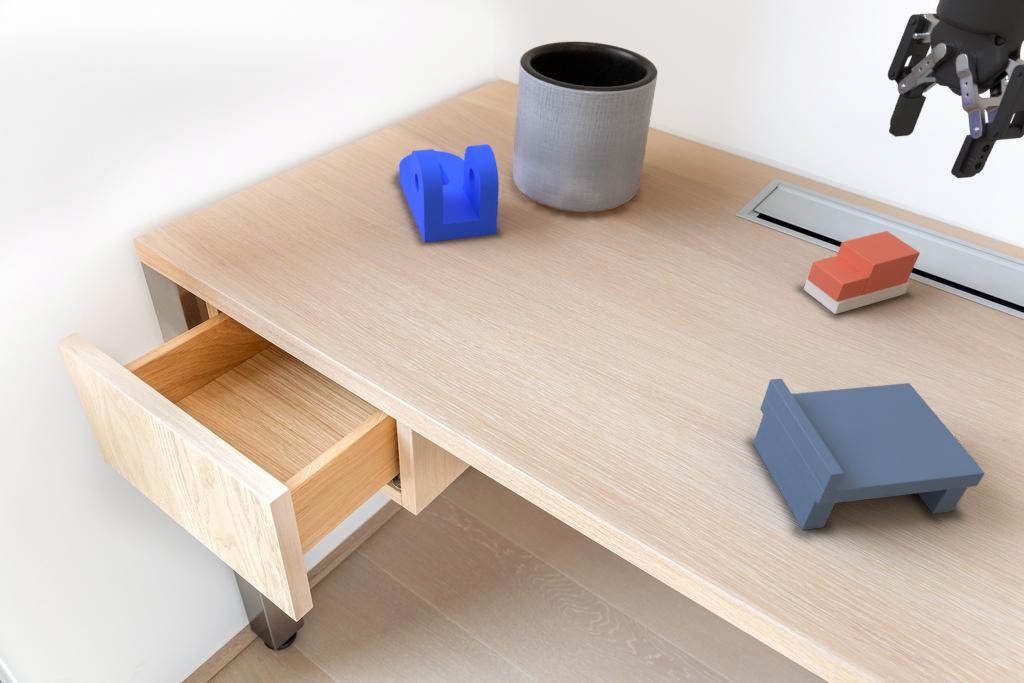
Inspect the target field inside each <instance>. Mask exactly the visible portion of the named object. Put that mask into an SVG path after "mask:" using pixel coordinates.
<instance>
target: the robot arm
mask: <svg viewBox="0 0 1024 683" xmlns="http://www.w3.org/2000/svg"><path fill="white" fill-rule="evenodd" d="M935 12H936V13H929V12H928V13H927V12H925V13H916V14H915V13H914V14H911V15H910V17H909V18H908V20H907V23H906V26H905V29H904V30H903V34H902V36H901V38H900V40H899V43H898V46H897V48H896V51H895V53H894V56H893V58H892V60H891V64H890V66H889V69H888V71H887V78H888V80H889V81H894V82H895V83H896V84H897V92H898V94H899V95H898V98H897V100H896V103H895V107H894V109H893V112H892V114H891V118H890V120H889V126H890V127H889V129H888V133H889V134H890V135H892V137H895V138H896V137H897V138H898V137H908V136H910V135H912V134H913V132H914V131H915V128H916V125H917V122H918V120H919V117H920V115H921V112H922V110H923V108H924V105H925V102H926V99H927V97H926V96H925V95H924V94H925V93H927V92H929V90H931V89H932V88H934V87H935V86H936V85H939V86H941V87H947V88H948V89H949V90H950V91H951V92H952V94H954V95H956V96H959V97H961V104H962V106H961V107H962V109H963V111H965V112H966V113H967V117H968V127H969V134H966V135H965V138H964V139H963V140H964V141H963V143H962V144H961V147H960V150H959V152H958V154H957V157H956V159H955V161H954V163H953V166H952V168H951V170H950V174H951V175H953V176H954V177H955V178H957V179H967V178H973V177H975V176H976V175H977V174H980V173H981V172H982V171H983V170H984V168H985V166H986V163H987V161H988V159H989V157H990V155H991V154H992V150H993V148H994V146H995V144H996V142H997V141H1003V140H1015V139H1021V138H1023V137H1024V59H1021V51H1022V45H1023V43H1024V0H939V1H938V3H937V6H936V9H935ZM929 50H930V53H929ZM928 53H929V54H928ZM909 58H910V59H909ZM908 59H909V62H908V64H907V65H906V63H907V61H908ZM987 91H989V96H988V97H981V96H980V95H983V94H985V93H986V92H987ZM986 114H987V121H986Z"/></svg>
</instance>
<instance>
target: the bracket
mask: <svg viewBox="0 0 1024 683" xmlns="http://www.w3.org/2000/svg"><path fill="white" fill-rule="evenodd" d="M398 171H399V174H398V175H399V176H398V177H399V184H400V187H401V189H402V191H403V192H402V193H403V195H404V196H405V199H406V202H407V204H408V206H409V208H410V211H411V213H412V216H413V218H414V221H415V223H416V225H417V228H418V230H419V233H420V234H421V237H422V240H423V243H433V242H441V241H449V240H458V239H468V238H474V237H475V238H476V237H484V236H492V235H497V232H498V211H499V210H498V209H499V191H500V190H499V189H500V188H499V187H500V186H499V185H500V184H499V170H498V165H497V160H496V157H495V153H494V150H493V148H492V146H490V145H489V144H477V145H476V144H475V145H468V146H466V148H465V150H464V157H463V158H462V157H460V156H458V155H456V154H453V153H452V152H451V153H450V152H447V151H443V150H441V151H440V150H435V149H433V148H429V149H417V150H412V151H411V154H408V155H406V156H404V157H403V158H402V159H401V160H400V162H399V163H398Z"/></svg>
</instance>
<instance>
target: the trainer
mask: <svg viewBox="0 0 1024 683" xmlns="http://www.w3.org/2000/svg"><path fill="white" fill-rule="evenodd" d="M920 253H921V252H920V251H919V250H917V249H916V248H914V247H912V246H910V245H909V244H908V243H906V242H905V241H903V240H901V239H900V238H899V237H897V236H896V235H894V234H892V233H890V232H889V231H887V230H884V231H881V232H877V233H872V234H869V235H865V236H861V237H857V238H852V239H848V240H844V241H842V242H841V243H840V245H839V249H838V251H837V255H835V256H830V257H827V258H824V259H820V260H815V261H813V262H812V264H811V267H810V270H809V273H808V276H807V278H806V281H805V284H804V286H803V291H805V292H806V293H807V294H809V295H810V296H811V297H812V298H813V299H815V300H816V301H818V302H819V303H820V304H821V305H823V306H824V307H825V308H826V309H827V310H829V311H830V312H832V313H833V314H834V315H838V314H841V313H844V312H845V313H846V312H848V311H852V310H855V309H859V308H862V307H865V306H868V305H872V304H875V303H879V302H882V301H885V300H890V299H892V298H896V297H900V296H902V295H905V294H906V293H907V290H908V288H909V286H910V284H911V282H909V279H910V276H911V274H912V272H913V270H914V267H915V265H916V263H917V261H918V258H919V256H920Z"/></svg>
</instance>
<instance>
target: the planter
mask: <svg viewBox="0 0 1024 683" xmlns="http://www.w3.org/2000/svg"><path fill="white" fill-rule="evenodd" d="M518 68H519V69H518V86H517V97H516V98H517V99H516V111H515V112H516V116H515V127H514V139H513V151H512V152H513V153H512V165H511V166H512V167H511V171H512V181H513V183H514V185H515V186H516V188H517V189H518V190H519V191H520V192H521V193H522V194H524V195H525V196H526V197H527V198H528V199H530V200H531V201H533V202H536V203H537V204H539V205H541V206H544V207H546V208H549V209H553V210H557V211H559V212H560V211H561V212H566V213H567V212H568V213H574V214H592V213H593V214H594V213H600V212H605V211H610V210H613V209H615V208H618V207H620V206H622V205H624V204H626V203H628V202H629V201H631V200H632V199H633V198H634V197H636V195H637V194H638V191H639V189H640V185H641V181H642V177H643V176H642V175H643V170H644V163H645V155H646V150H647V144H648V138H649V137H648V136H649V130H650V123H651V116H652V112H653V111H652V110H653V104H654V98H655V92H656V86H657V80H658V73H659V72H658V68H657V67H656V65H655V63H653V62H652V61H651V60H649V59H648V58H647V57H645V56H644V55H642V54H639V53H638V52H635V51H633V50H630V49H627V48H625V47H620V46H617V45H612V44H606V43H602V42H601V43H600V42H591V41H557V42H552V43H551V42H549V43H545V44H541V45H537V46H535V47H533V48H531V49H528V50H527V51H526V52H524V53H523V54H522V55H521V57H520V58H519V67H518Z"/></svg>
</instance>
